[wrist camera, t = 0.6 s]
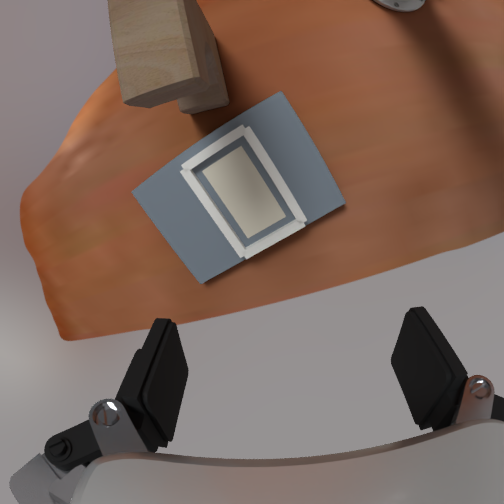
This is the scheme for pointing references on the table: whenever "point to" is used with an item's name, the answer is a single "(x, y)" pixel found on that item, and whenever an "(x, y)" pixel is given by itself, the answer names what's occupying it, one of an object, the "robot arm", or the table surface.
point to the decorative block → (166, 55)
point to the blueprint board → (240, 189)
